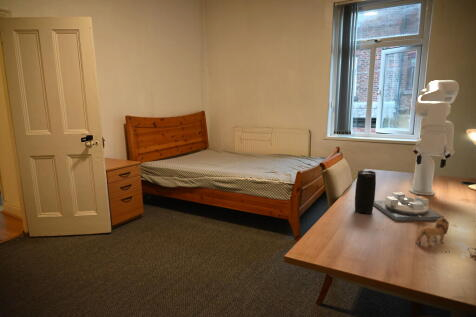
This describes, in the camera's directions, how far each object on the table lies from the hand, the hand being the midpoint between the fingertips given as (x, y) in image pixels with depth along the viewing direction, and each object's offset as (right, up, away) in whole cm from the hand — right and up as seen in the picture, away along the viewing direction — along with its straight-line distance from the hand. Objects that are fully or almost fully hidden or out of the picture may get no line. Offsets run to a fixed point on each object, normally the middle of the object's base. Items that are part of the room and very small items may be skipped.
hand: (430, 165), depth 143 cm
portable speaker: (-30, -22, +3) cm, 37 cm away
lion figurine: (-17, -28, -28) cm, 43 cm away
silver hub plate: (-10, -20, +3) cm, 23 cm away
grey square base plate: (-10, -22, +3) cm, 25 cm away
